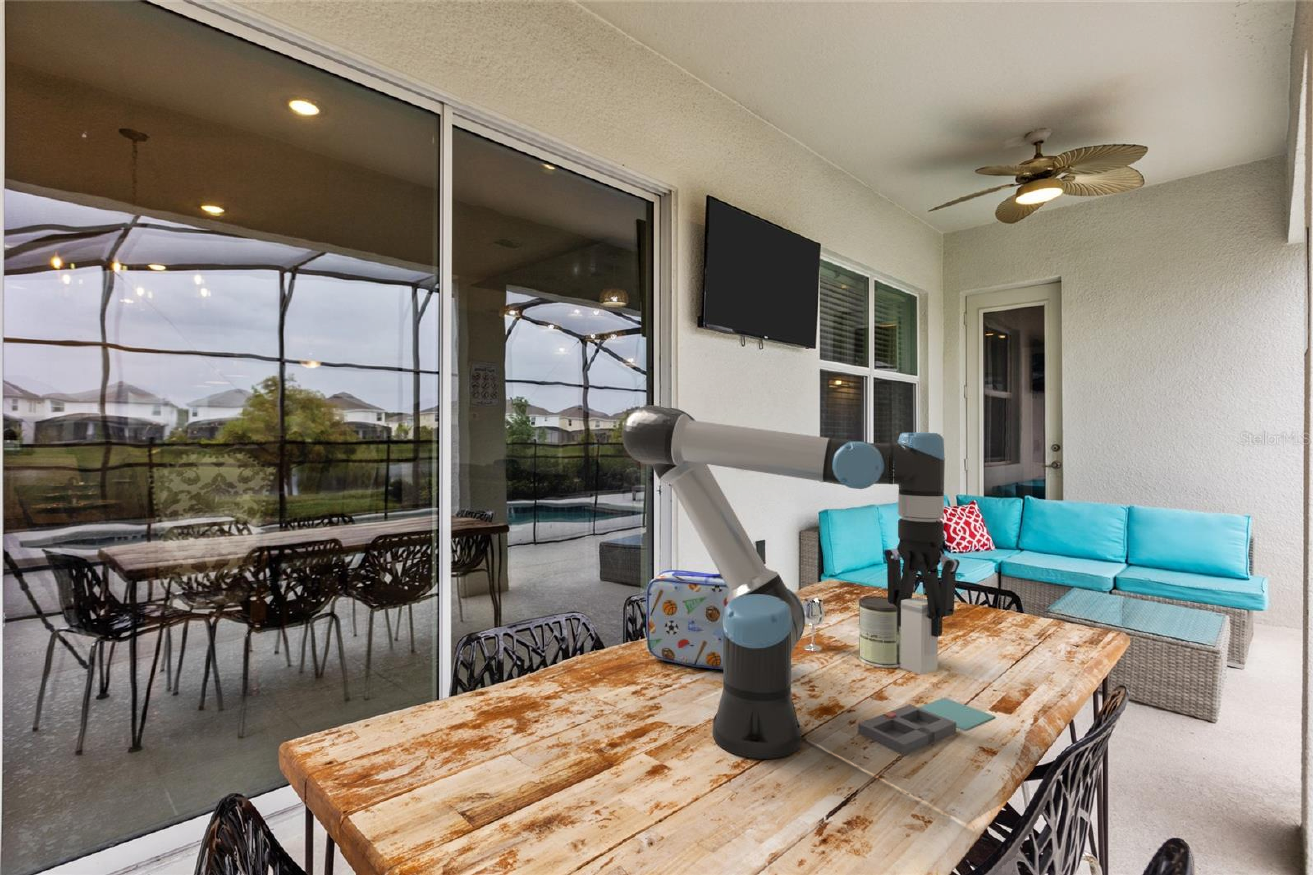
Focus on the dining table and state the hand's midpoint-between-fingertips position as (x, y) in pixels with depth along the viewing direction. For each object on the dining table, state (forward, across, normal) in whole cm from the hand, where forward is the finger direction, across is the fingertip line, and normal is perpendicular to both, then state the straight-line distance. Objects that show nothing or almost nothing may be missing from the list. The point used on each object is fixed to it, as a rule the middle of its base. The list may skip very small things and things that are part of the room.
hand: (919, 649), depth 109 cm
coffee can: (+15, +27, -26) cm, 40 cm away
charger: (+3, 0, 0) cm, 3 cm away
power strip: (+15, 0, +4) cm, 15 cm away
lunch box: (+15, +48, +11) cm, 51 cm away
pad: (+15, 0, -11) cm, 18 cm away
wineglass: (+15, +42, -19) cm, 48 cm away
